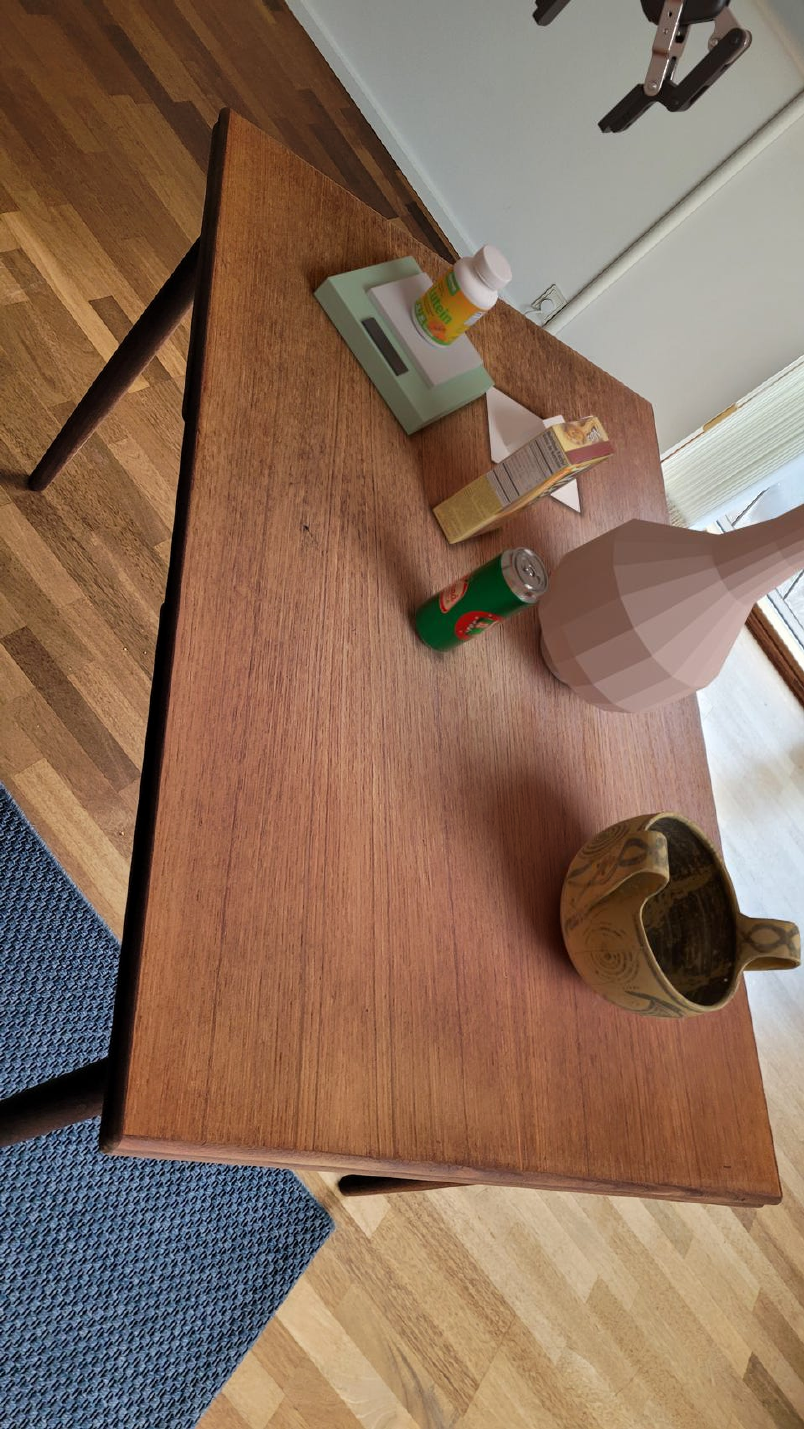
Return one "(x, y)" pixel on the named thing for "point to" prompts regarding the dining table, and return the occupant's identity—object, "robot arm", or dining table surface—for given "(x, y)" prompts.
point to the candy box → (524, 478)
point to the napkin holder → (520, 435)
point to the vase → (659, 607)
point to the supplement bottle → (461, 296)
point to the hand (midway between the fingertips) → (571, 75)
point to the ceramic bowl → (664, 920)
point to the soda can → (481, 599)
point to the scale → (401, 342)
